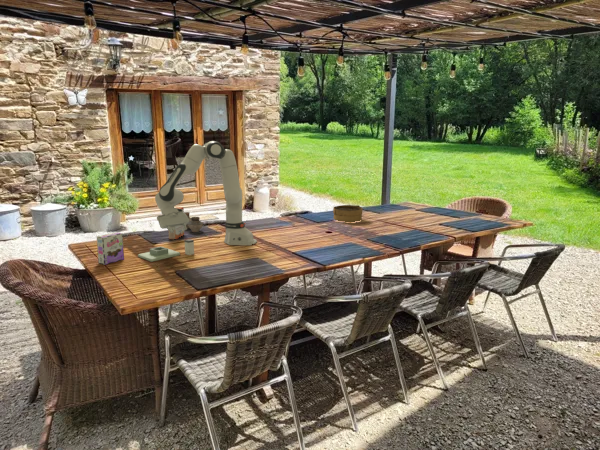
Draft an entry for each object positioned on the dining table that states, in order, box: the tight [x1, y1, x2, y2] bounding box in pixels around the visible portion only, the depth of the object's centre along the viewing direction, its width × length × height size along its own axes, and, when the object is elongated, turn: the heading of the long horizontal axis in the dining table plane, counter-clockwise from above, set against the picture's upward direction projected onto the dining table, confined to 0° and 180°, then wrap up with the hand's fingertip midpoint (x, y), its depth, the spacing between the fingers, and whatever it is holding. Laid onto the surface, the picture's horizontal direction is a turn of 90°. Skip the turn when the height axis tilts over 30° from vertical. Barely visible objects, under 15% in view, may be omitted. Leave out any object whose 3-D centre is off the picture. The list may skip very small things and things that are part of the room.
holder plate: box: [137, 246, 181, 263], centre depth 289 cm, size 20×15×4 cm
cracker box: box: [167, 206, 185, 240], centre depth 333 cm, size 14×6×21 cm, turn 168°
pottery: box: [184, 211, 204, 233], centre depth 358 cm, size 11×25×12 cm, turn 41°
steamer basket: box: [332, 204, 363, 222], centre depth 398 cm, size 25×25×11 cm
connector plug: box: [184, 238, 195, 256], centre depth 294 cm, size 4×4×9 cm
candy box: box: [96, 231, 125, 266], centre depth 276 cm, size 14×6×16 cm, turn 148°
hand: (179, 231), depth 298 cm, fingers open, 8 cm apart
